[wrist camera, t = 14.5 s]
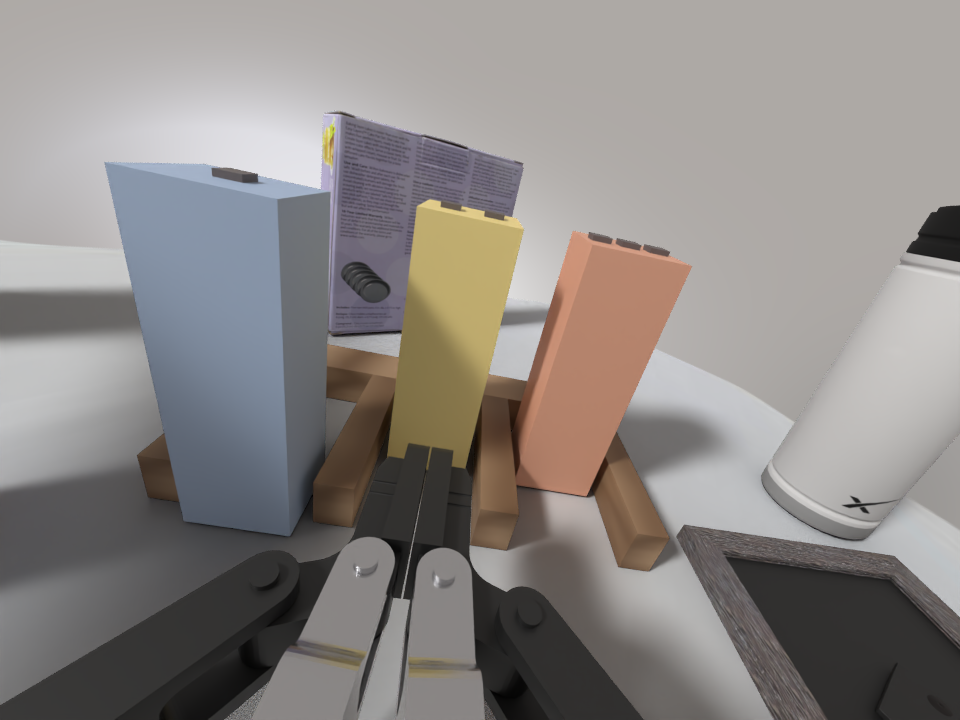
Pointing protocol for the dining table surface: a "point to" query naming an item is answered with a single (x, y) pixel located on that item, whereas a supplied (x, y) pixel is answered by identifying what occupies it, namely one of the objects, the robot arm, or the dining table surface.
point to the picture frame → (830, 628)
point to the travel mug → (881, 397)
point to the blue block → (232, 333)
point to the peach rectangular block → (591, 358)
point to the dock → (493, 470)
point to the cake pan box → (393, 209)
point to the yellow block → (450, 324)
